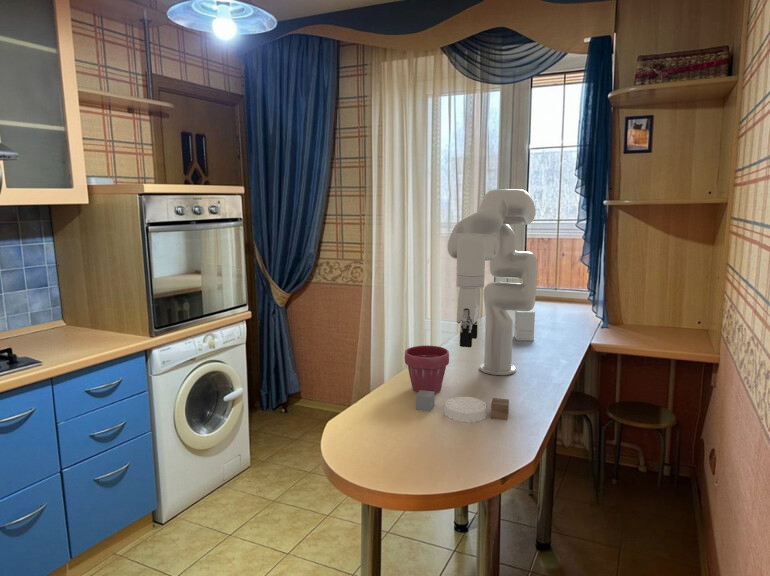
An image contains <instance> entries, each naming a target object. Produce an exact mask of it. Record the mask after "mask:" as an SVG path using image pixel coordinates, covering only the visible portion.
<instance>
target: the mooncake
mask: <svg viewBox="0 0 770 576" xmlns="http://www.w3.org/2000/svg"><path fill="white" fill-rule="evenodd" d="M443 412H444V414H445V417H447V418H448V419H449V420H452V421H456V422H457V421H458V422H459V423H463V422H464V423H475V422H480V421H483V420H486V419H485V418H487V416H488V405H487V403H486V402H485V401H483V400H482V399H479V398H476V397H471V396H456V397H451V398H449V399H447V400H446V401H445V402H444V411H443Z"/></svg>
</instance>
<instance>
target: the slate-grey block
mask: <svg viewBox="0 0 770 576" xmlns="http://www.w3.org/2000/svg"><path fill="white" fill-rule="evenodd" d="M435 394H436V393H435V392H433V391H424V390H419V392H418V393H417V392H416V395H415V410H416V411H423V412H432V411H433V409H434V407H435Z"/></svg>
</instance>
